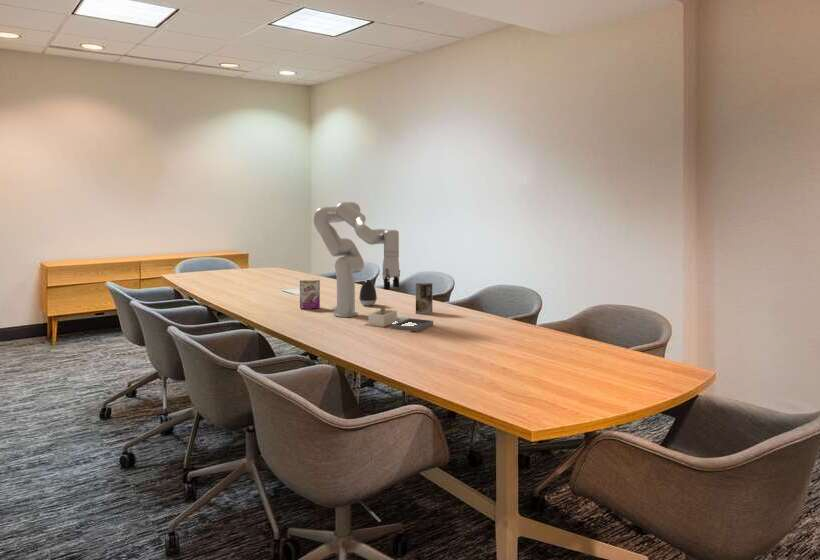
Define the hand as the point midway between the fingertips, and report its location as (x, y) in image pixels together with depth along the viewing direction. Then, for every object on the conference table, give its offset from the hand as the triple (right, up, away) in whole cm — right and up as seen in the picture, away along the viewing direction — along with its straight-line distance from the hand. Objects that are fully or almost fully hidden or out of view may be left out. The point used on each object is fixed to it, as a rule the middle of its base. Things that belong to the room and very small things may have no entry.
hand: (391, 288), depth 308 cm
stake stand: (-4, -18, -5) cm, 19 cm away
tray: (+11, -19, -11) cm, 25 cm away
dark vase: (-15, -11, +49) cm, 52 cm away
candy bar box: (-48, -12, +38) cm, 62 cm away
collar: (-4, -17, -5) cm, 19 cm away
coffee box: (+17, -14, +26) cm, 34 cm away
